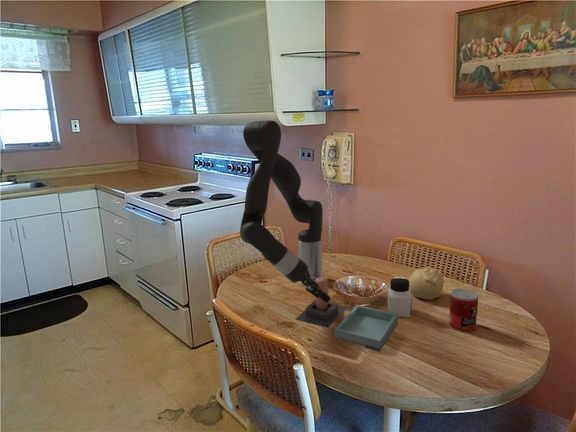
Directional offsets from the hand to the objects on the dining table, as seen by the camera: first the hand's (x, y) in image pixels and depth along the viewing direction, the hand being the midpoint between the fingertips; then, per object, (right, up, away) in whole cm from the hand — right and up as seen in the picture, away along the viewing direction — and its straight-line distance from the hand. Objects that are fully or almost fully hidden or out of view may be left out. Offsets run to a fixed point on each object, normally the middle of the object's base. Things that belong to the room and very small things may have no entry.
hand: (327, 297), depth 137 cm
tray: (+11, -9, -10) cm, 17 cm away
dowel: (-2, -6, +1) cm, 6 cm away
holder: (-2, -7, +1) cm, 7 cm away
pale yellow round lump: (+37, -2, +14) cm, 40 cm away
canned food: (+41, -8, -8) cm, 43 cm away
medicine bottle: (+24, -6, +2) cm, 25 cm away
